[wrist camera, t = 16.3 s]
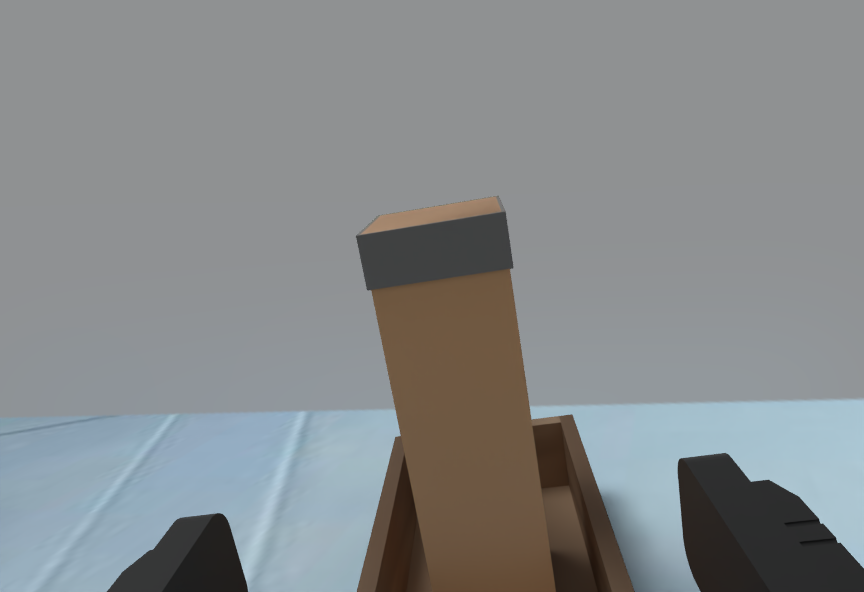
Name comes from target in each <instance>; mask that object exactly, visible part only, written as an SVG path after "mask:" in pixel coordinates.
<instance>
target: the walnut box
mask: <svg viewBox="0 0 864 592" xmlns="http://www.w3.org/2000/svg"><path fill="white" fill-rule="evenodd" d="M531 421H532V428H533V435H534V442H535V449H536V456H537V463H538V470H539V477H540V484H541V491H542V498H543V505H544V512H545V519H546V526H547V533H548V540H549V547H550V554H551V561H552V568H553V575H554V582H555V588H556V592H634V589H633V586H632V583H631V580H630V577H629V575H628V572H627V569H626V566H625V563H624V560H623V558H622V555H621V552H620V549H619V546H618V543H617V541H616V538H615V535H614V532H613V529H612V526H611V523H610V521H609V518H608V515H607V512H606V509H605V506H604V504H603V501H602V498H601V495H600V492H599V489H598V486H597V484H596V481H595V478H594V475H593V472H592V469H591V467H590V464H589V461H588V458H587V455H586V452H585V450H584V447H583V444H582V441H581V438H580V435H579V432H578V430H577V427H576V424H575V421H574V418H573V415H565V416H557V417H549V418H541V419H533V420H531ZM357 592H432V587H431V582H430V577H429V572H428V567H427V562H426V557H425V552H424V547H423V542H422V537H421V532H420V527H419V522H418V518H417V513H416V508H415V503H414V498H413V493H412V488H411V483H410V478H409V473H408V468H407V463H406V458H405V453H404V449H403V444H402V439H401V436H398V437H395V441H394V445H393V449H392V453H391V457H390V461H389V465H388V469H387V473H386V477H385V481H384V485H383V489H382V493H381V497H380V501H379V505H378V509H377V513H376V517H375V521H374V525H373V529H372V533H371V537H370V541H369V545H368V549H367V553H366V557H365V561H364V565H363V569H362V573H361V577H360V581H359V585H358V589H357Z"/></svg>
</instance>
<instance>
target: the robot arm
mask: <svg viewBox="0 0 864 592" xmlns="http://www.w3.org/2000/svg"><path fill="white" fill-rule="evenodd" d="M678 480H679V492H680V504H681V516H682V528H683V539H684V546H685V551H686V555H687V559H688V563H689V566H690V569H691V572H692V574H693V577H694V579H695V581H696V583H697V585H698V587H699V589H700V591H701V592H864V568H863V567H862V566H861V565H860V564H859V563H858V562H857V561H856V559H855V558H854V557H853V556H852V555H851V554H850V553H849V552H848V551H847V550H846V548H845V547H844V546H843V545H842V544H841V543H837V540H836V537H835V536H834V535H833V534H832V533H831V532H830V531H829V530H828V528H827V527H826V526H825V525H824V524H820V521H819V518H818V517H817V516H816V515H815V514H814V513H813V512H812V511H811V510H810V509H809V507H808V506H807V505H806V504H805V503H804V502H803V501H802V500H801V499H800V497H798V496H796V495H795V494H793V493H791V492H789V491H788V490H786V489H784V488H782V487H781V486H779V485H777V484H775V483H773V482H772V481H770V480H763V481H754V482H750V480H749V479H748V478H747V477H746V475H745V474H744V473H743V472H742V470H741V469H740V468H739V467H738V465H737V464H736V463H735V462H734V460H733V459H732V458H731V457H730V456H729V455H728V454H726V453H722V454H714V455H705V456H697V457H689V458H681V459H679V462H678ZM107 592H248V589H247V584H246V580H245V577H244V573H243V570H242V566H241V563H240V559H239V556H238V553H237V549H236V546H235V542H234V539H233V535H232V532H231V529H230V525H229V523H228V520H227V519H226V517H225V516H224V515H223V514H221V513H217V514H209V515H200V516H192V517H184V518H179V519H177V520H176V521H175V522H174V523H173V525H172V526H171V527H170V528H169V530H168V531H167V532H166V534H165V535H164V536H163V538H162V539H161V540H160V542H159V543H158V544H157V546H156V547H155V548H154V549H153V550H149V551H148V552H147V553H146V554H144V555H143V556H142V557H141V558H139V559H138V560H137V561H136V562H134V563H133V564H132V565H131V566H129V567H128V568H127V569H126V570H124V571H123V572H122V573H121V575H120V576H119V577H118V578H117V580H116V581H115V582H114V584H113V585H112V586H111V587H110V589H109V590H108V591H107Z"/></svg>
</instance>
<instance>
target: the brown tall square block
mask: <svg viewBox="0 0 864 592" xmlns="http://www.w3.org/2000/svg"><path fill="white" fill-rule="evenodd" d="M356 238H357V243H358V248H359V253H360V258H361V263H362V267H363V272H364V277H365V282H366V287H367V290H371V291H372V296H373V300H374V306H375V310H376V315H377V320H378V325H379V330H380V335H381V339H382V345H383V350H384V355H385V360H386V364H387V369H388V375H389V379H390V384H391V389H392V394H393V399H394V404H395V409H396V414H397V419H398V424H399V429H400V434H401V439H402V444H403V449H404V453H405V458H406V463H407V468H408V473H409V478H410V483H411V488H412V493H413V498H414V503H415V508H416V513H417V518H418V522H419V527H420V532H421V537H422V542H423V547H424V552H425V557H426V562H427V567H428V572H429V577H430V582H431V587H432V592H556V588H555V582H554V575H553V568H552V561H551V554H550V547H549V540H548V533H547V526H546V519H545V512H544V505H543V498H542V491H541V484H540V477H539V470H538V463H537V456H536V449H535V442H534V435H533V428H532V421H531V414H530V407H529V400H528V393H527V386H526V379H525V372H524V365H523V358H522V351H521V344H520V337H519V330H518V323H517V316H516V309H515V302H514V295H513V289H512V281H511V274H510V269H511V268H513V261H512V254H511V247H510V240H509V233H508V226H507V220H506V212H505V209H504V207H503V205H502V202H501V200H500V198H499V196H494V197H488V198H482V199H476V200H470V201H464V202H458V203H452V204H446V205H439V206H434V207H427V208H421V209H415V210H409V211H404V212H398V213H392V214H386V215H379V216H377V217H376V218H375V219H374V220H373V221H372V222H371V223H369V224H368V225H367V226H366V227H365V228H364V229H363V230H362V231H361V232H360V233H359V234H358V235H357V236H356Z"/></svg>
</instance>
